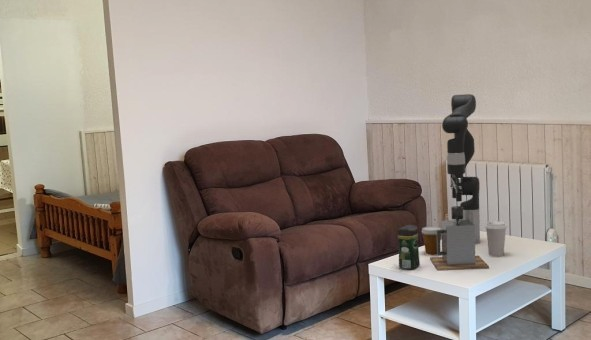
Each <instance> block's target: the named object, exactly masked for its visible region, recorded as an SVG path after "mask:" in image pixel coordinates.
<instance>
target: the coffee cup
mask: <svg viewBox="0 0 591 340" xmlns="http://www.w3.org/2000/svg"><path fill="white" fill-rule="evenodd" d="M484 228H485V230H486V231H485V232H486V239H487V241H486V242H487V247H488V248H487V249H488V255H489V256H490V257H503V256H504V255H505V241H506V229H508V227H507V224H506V223H505V222H504V221H499V220H489V221H487V222H486V223H485V226H484Z"/></svg>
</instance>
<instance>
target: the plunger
mask: <svg viewBox="0 0 591 340" xmlns="http://www.w3.org/2000/svg"><path fill="white" fill-rule="evenodd" d="M450 211H451V220H456V223H459V220H461V219H463V207H461V206H460V205H459V206H457V205H454V206H451V210H450Z"/></svg>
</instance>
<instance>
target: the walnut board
mask: <svg viewBox="0 0 591 340" xmlns="http://www.w3.org/2000/svg"><path fill="white" fill-rule="evenodd" d="M429 260H430V262H431V263H432V266H434V268H435V270H436V271H453V270H454V271H458V270H484V269H490V266H489V264H488V263H487V262H486V261H485V260H484V259H482V257H481V256H480V255H475V265H456V266H447V265H446V263H445V262H444V260H443V259H442V256H433V257H429Z"/></svg>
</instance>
